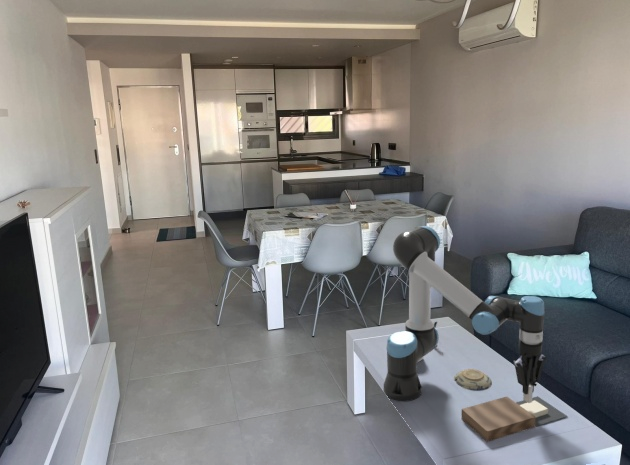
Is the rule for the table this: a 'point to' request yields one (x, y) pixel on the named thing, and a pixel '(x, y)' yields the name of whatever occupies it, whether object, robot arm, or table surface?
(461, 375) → the decorative bowl
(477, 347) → the table surface
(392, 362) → the robot arm
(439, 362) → the table surface
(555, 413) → the mat
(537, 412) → the tile
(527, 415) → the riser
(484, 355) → the table surface
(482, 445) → the table surface
